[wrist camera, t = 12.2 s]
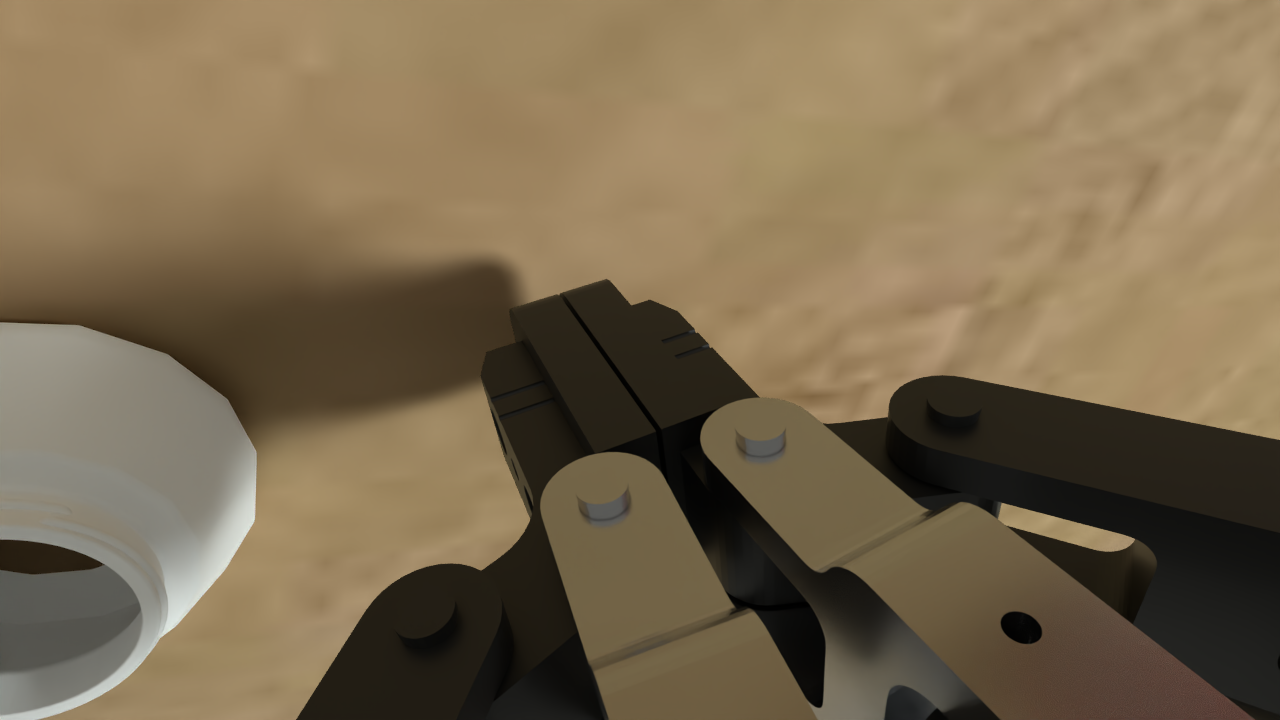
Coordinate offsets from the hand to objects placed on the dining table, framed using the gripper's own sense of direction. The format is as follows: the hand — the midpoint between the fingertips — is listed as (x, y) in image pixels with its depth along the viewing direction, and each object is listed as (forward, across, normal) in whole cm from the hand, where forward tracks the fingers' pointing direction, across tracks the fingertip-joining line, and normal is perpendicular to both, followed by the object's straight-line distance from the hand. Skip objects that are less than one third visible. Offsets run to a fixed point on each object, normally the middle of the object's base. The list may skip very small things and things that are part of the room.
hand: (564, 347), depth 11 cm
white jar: (+1, +7, 0) cm, 7 cm away
